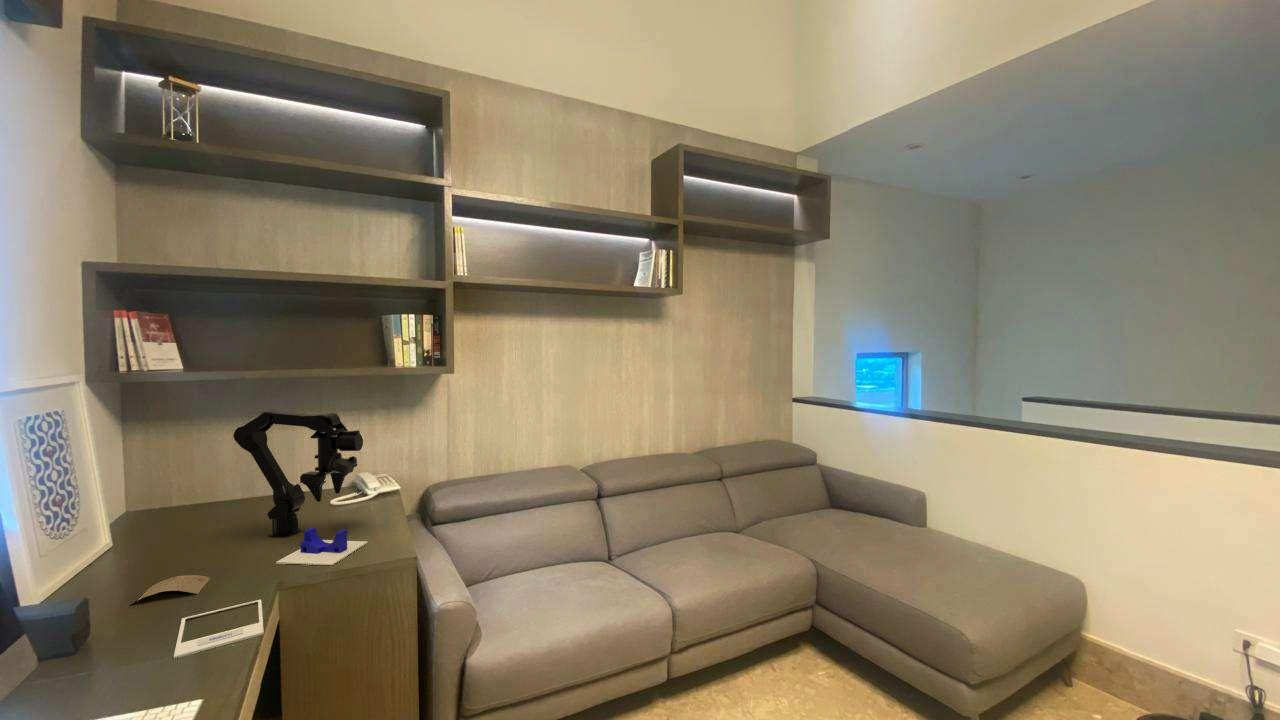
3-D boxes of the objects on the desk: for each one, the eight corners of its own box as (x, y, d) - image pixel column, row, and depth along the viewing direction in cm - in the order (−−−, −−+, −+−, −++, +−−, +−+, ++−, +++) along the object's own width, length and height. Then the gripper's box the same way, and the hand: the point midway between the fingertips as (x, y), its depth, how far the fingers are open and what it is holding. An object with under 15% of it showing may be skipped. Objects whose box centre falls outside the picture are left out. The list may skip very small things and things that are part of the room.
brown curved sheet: (126, 609, 124) (126, 598, 124) (143, 591, 133) (142, 580, 133) (203, 596, 130) (203, 585, 130) (214, 579, 139) (214, 569, 139)
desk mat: (275, 564, 148) (275, 562, 148) (317, 541, 165) (317, 539, 165) (331, 566, 147) (331, 564, 146) (367, 543, 163) (367, 541, 163)
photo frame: (173, 655, 103) (182, 617, 118) (173, 661, 104) (182, 622, 118) (263, 631, 112) (261, 598, 127) (263, 636, 112) (261, 603, 127)
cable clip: (300, 552, 155) (300, 532, 154) (312, 546, 159) (311, 527, 159) (336, 555, 153) (336, 535, 153) (347, 549, 157) (347, 529, 157)
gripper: (332, 457, 162) (332, 506, 162) (367, 446, 180) (368, 490, 181) (298, 456, 162) (299, 505, 163) (337, 445, 181) (338, 489, 181)
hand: (328, 497), depth 172 cm, fingers open, 9 cm apart
